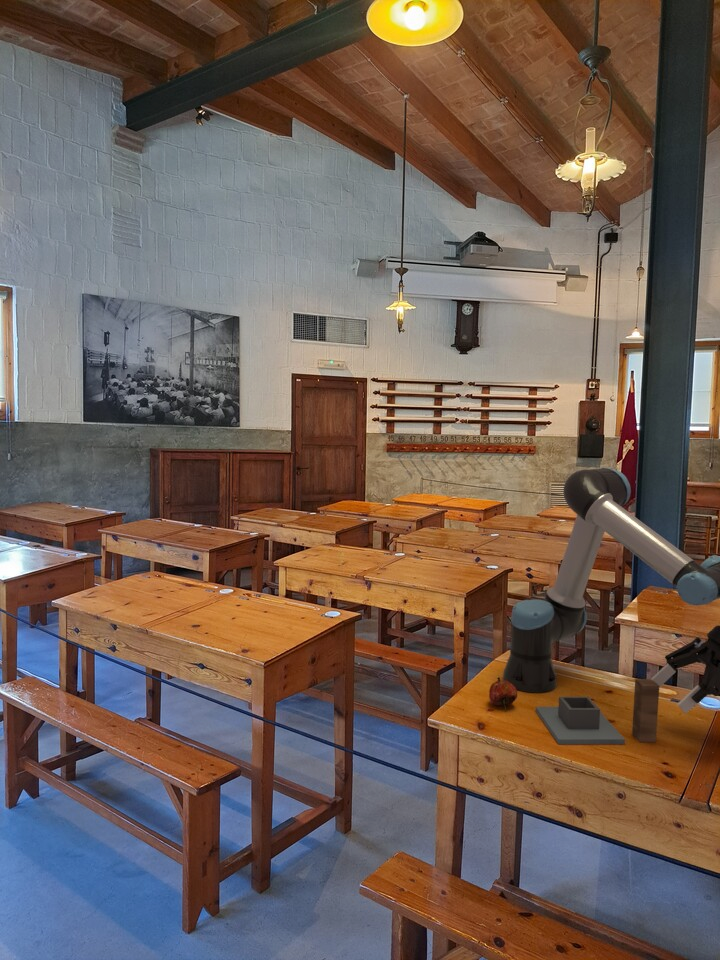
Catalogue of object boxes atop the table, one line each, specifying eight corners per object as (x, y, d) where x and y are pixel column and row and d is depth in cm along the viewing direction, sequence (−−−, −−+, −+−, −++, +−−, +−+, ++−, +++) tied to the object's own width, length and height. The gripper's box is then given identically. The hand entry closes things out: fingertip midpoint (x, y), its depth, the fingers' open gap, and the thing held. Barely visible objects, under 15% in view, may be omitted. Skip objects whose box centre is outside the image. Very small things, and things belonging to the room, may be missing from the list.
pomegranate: (519, 718, 176) (515, 684, 184) (519, 704, 172) (515, 670, 179) (491, 719, 178) (487, 685, 185) (490, 705, 173) (487, 671, 180)
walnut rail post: (632, 734, 164) (635, 679, 163) (648, 734, 164) (651, 679, 163) (639, 742, 160) (642, 685, 159) (655, 742, 160) (659, 685, 159)
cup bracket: (535, 711, 176) (536, 688, 175) (595, 711, 177) (596, 688, 176) (558, 744, 158) (559, 719, 157) (624, 744, 159) (626, 719, 158)
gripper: (776, 665, 147) (705, 731, 148) (711, 630, 172) (651, 686, 173) (754, 642, 147) (683, 708, 147) (692, 609, 172) (632, 666, 172)
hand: (666, 696), depth 160 cm, fingers open, 13 cm apart
